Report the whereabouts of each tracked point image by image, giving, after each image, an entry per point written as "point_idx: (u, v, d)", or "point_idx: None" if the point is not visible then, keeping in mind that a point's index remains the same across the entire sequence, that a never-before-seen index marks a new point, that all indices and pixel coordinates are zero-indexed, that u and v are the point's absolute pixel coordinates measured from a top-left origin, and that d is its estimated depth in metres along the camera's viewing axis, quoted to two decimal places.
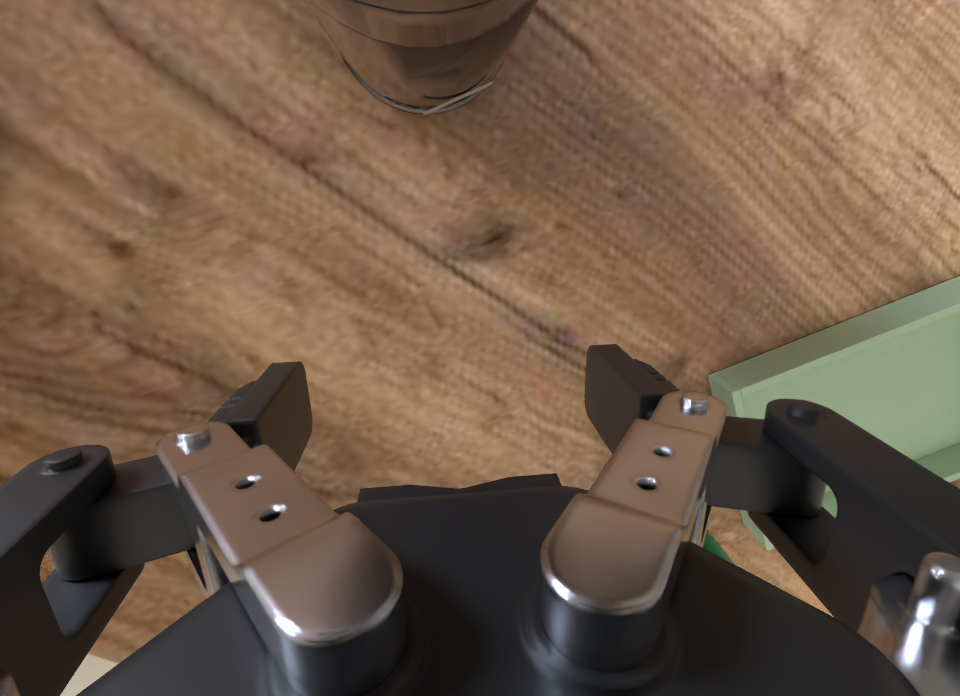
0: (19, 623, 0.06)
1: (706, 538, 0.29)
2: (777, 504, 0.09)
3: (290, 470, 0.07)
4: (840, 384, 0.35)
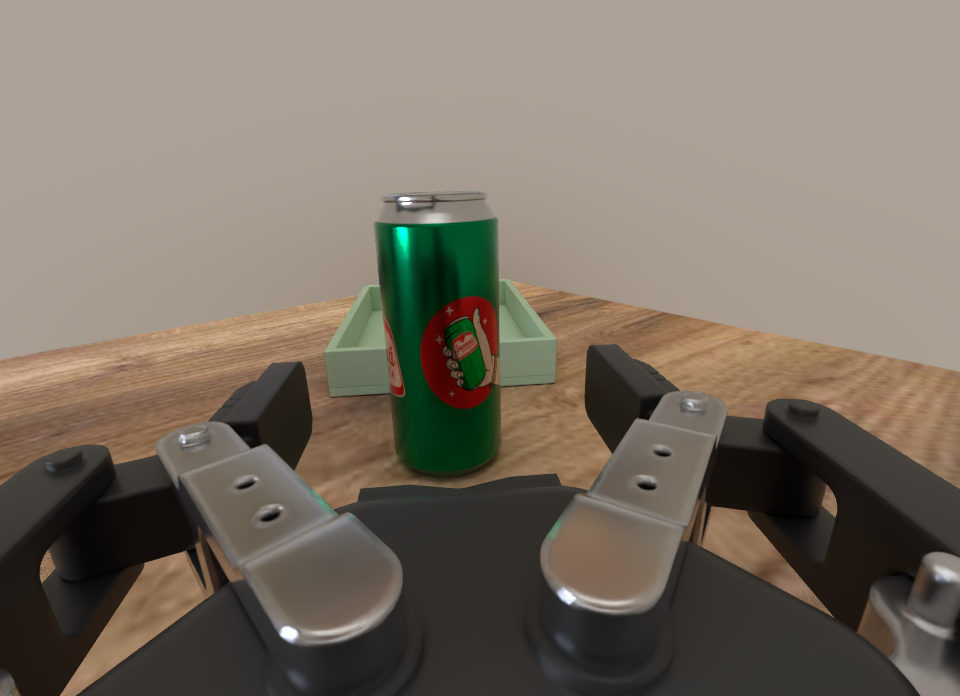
0: (19, 623, 0.06)
1: None
2: (777, 504, 0.09)
3: (290, 470, 0.07)
4: None
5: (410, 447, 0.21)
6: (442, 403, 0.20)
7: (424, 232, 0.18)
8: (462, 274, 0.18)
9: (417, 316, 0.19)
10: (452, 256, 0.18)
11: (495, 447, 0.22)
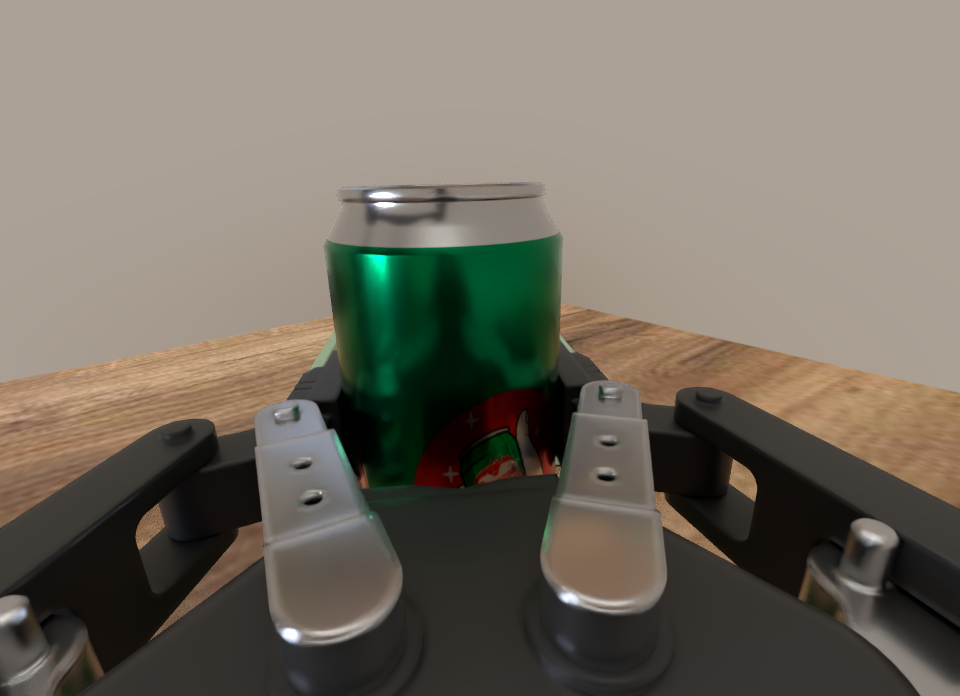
0: (112, 577, 0.07)
1: None
2: (685, 485, 0.10)
3: (345, 458, 0.07)
4: None
5: None
6: None
7: (420, 267, 0.08)
8: (497, 350, 0.09)
9: (407, 430, 0.09)
10: (479, 314, 0.09)
11: None
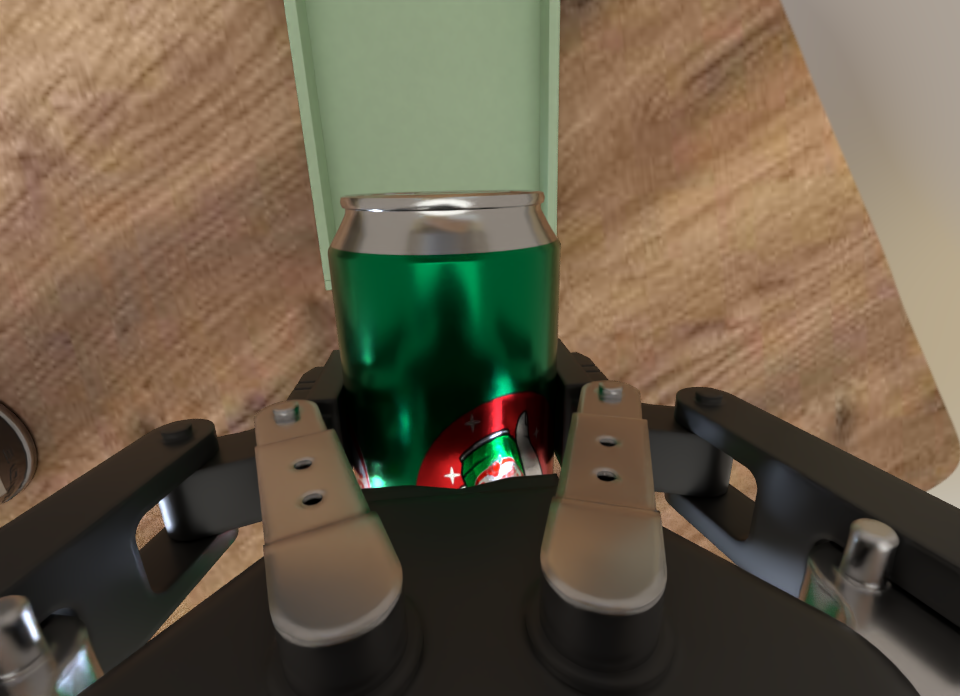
0: (112, 577, 0.07)
1: None
2: (685, 485, 0.10)
3: (345, 458, 0.07)
4: (388, 131, 0.29)
5: None
6: None
7: (423, 274, 0.08)
8: (498, 353, 0.09)
9: (410, 433, 0.10)
10: (481, 320, 0.09)
11: None
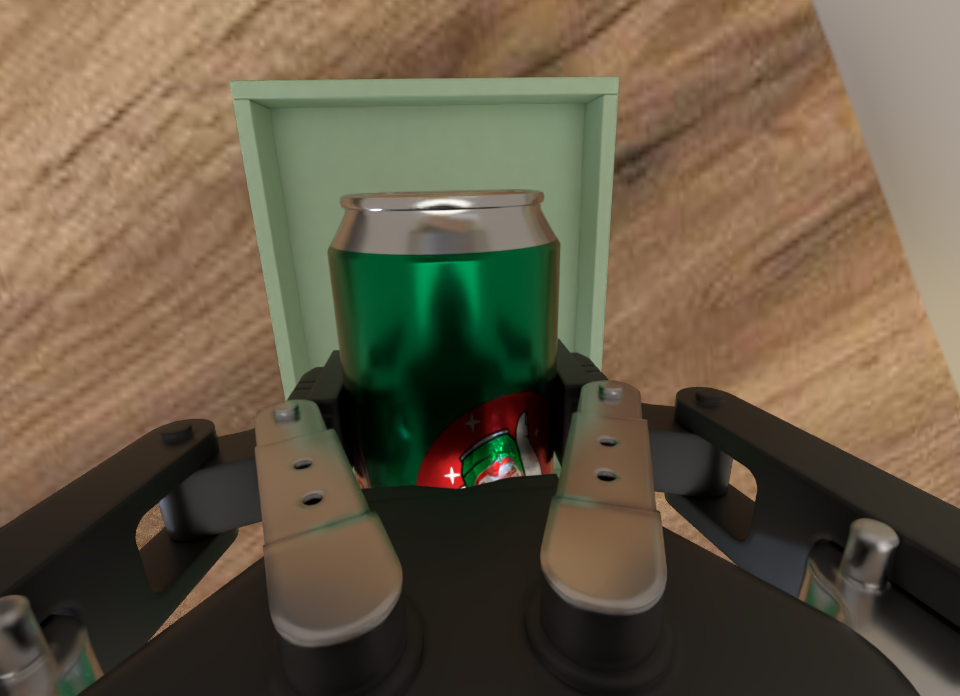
0: (112, 577, 0.07)
1: None
2: (685, 485, 0.10)
3: (345, 458, 0.07)
4: None
5: None
6: None
7: (423, 273, 0.08)
8: (498, 353, 0.09)
9: (410, 433, 0.10)
10: (480, 319, 0.09)
11: None
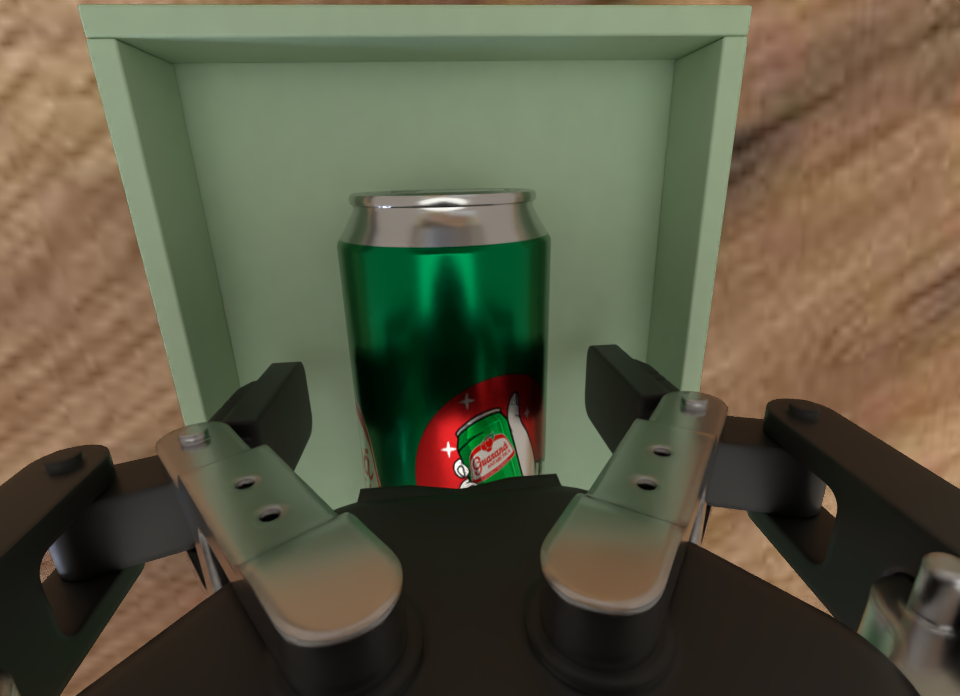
0: (19, 623, 0.06)
1: None
2: (777, 504, 0.09)
3: (290, 470, 0.07)
4: None
5: None
6: None
7: (422, 264, 0.09)
8: (491, 338, 0.10)
9: (410, 409, 0.11)
10: (474, 306, 0.10)
11: None
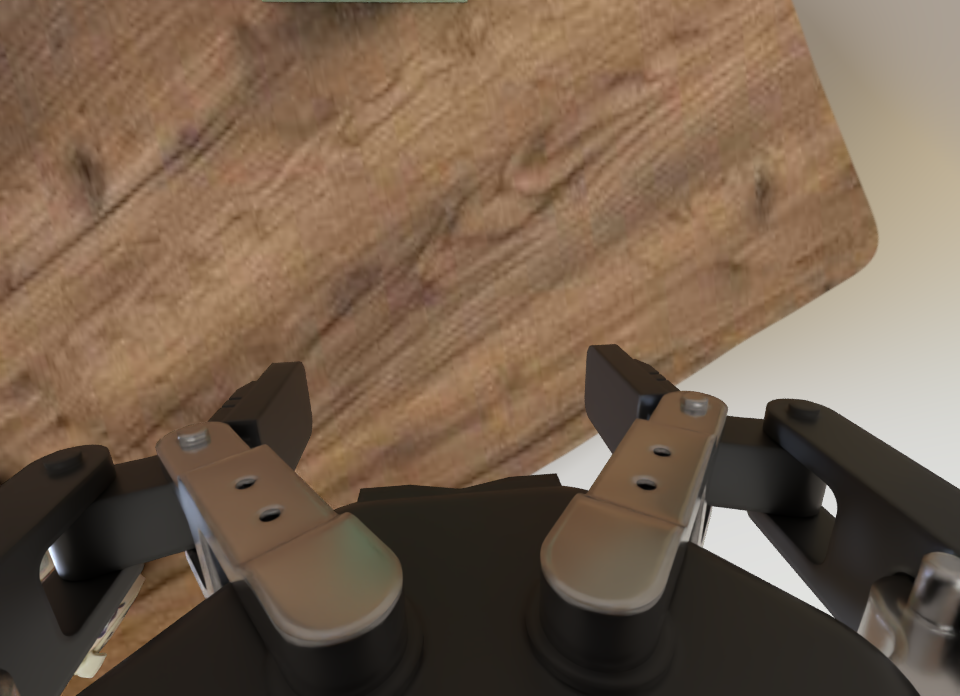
0: (19, 623, 0.06)
1: None
2: (777, 504, 0.09)
3: (290, 470, 0.07)
4: None
5: None
6: None
7: None
8: None
9: None
10: None
11: None
